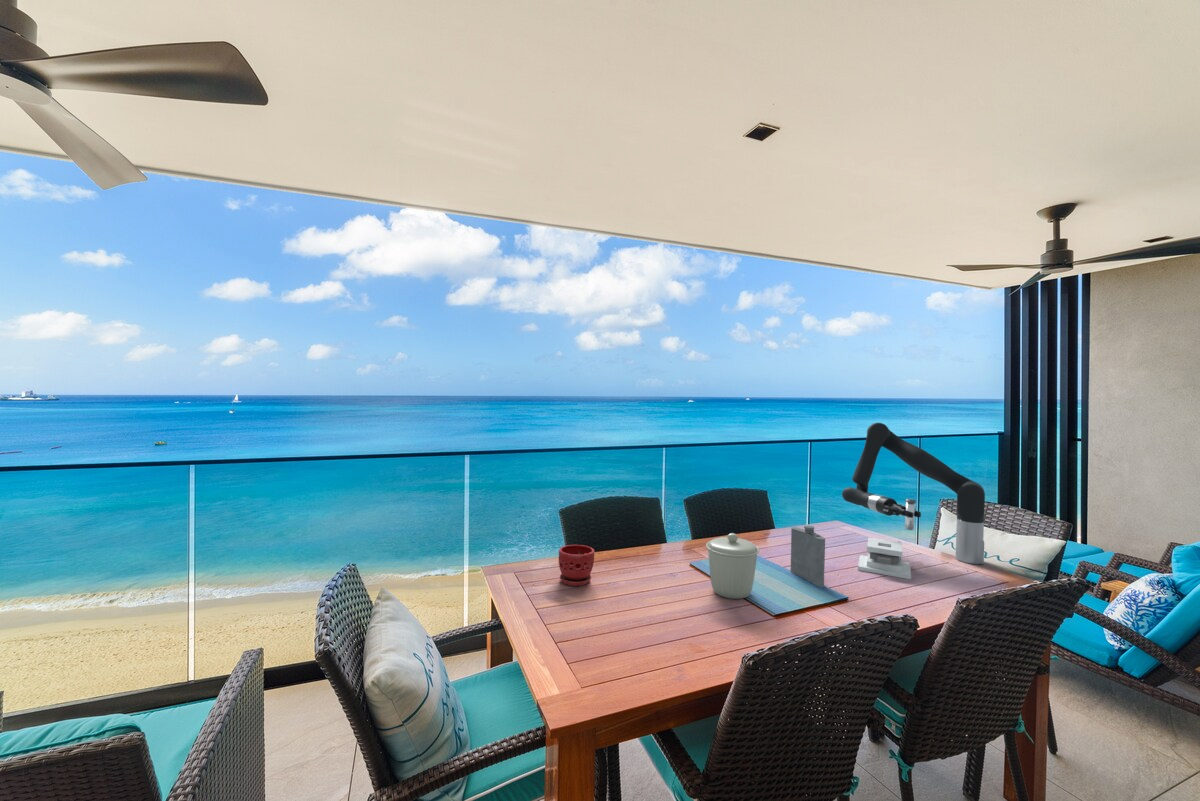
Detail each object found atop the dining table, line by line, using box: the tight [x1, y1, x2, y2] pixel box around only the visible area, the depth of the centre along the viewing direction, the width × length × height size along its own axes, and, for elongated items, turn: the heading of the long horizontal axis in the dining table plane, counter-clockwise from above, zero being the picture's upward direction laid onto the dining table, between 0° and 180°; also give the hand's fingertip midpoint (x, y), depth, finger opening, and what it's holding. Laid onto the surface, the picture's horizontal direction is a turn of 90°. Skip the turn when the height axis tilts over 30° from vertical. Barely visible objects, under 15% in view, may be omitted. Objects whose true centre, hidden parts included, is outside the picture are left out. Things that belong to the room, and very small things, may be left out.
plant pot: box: [558, 544, 595, 587], centre depth 182 cm, size 13×13×12 cm
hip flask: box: [789, 524, 826, 588], centre depth 187 cm, size 16×4×20 cm, turn 20°
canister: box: [705, 532, 760, 600], centre depth 172 cm, size 18×18×21 cm
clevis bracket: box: [857, 537, 912, 580], centre depth 198 cm, size 18×17×10 cm
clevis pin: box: [904, 498, 917, 531], centre depth 200 cm, size 4×4×12 cm
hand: (916, 515), depth 197 cm, fingers closed on clevis pin, 3 cm apart
